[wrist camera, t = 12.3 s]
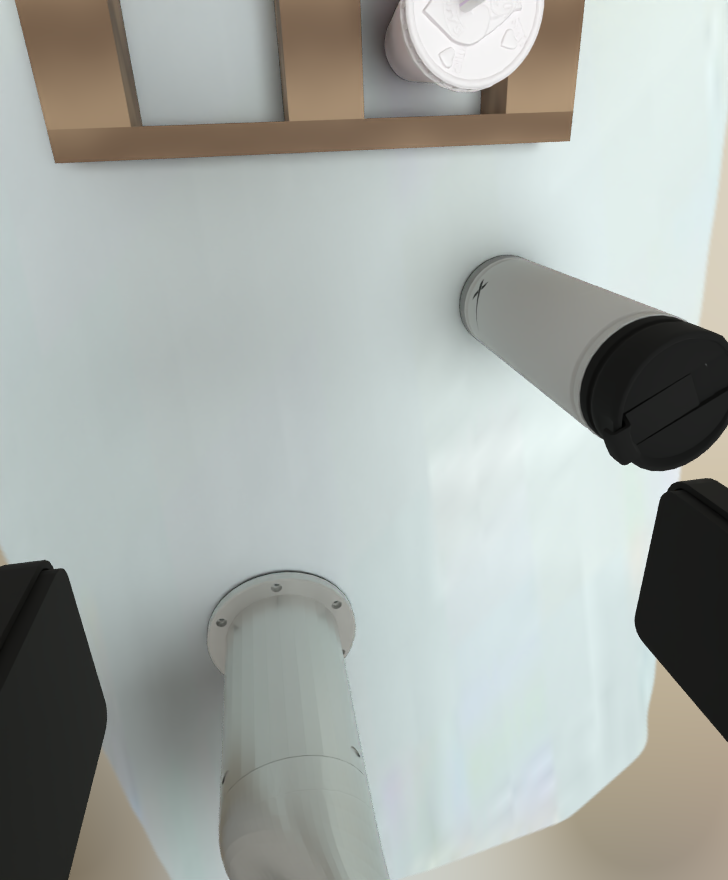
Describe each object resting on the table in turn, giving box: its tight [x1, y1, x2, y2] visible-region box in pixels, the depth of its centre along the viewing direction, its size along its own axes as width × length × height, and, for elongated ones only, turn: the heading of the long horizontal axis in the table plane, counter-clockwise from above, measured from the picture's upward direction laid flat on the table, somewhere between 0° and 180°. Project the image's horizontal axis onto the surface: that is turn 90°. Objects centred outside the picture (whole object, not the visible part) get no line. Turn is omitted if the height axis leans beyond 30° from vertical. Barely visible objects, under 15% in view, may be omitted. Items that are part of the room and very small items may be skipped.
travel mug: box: [460, 255, 728, 471], centre depth 33 cm, size 6×7×20 cm
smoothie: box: [385, 0, 544, 92], centre depth 27 cm, size 6×6×14 cm
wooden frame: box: [15, 0, 585, 163], centre depth 31 cm, size 11×28×4 cm, turn 92°
